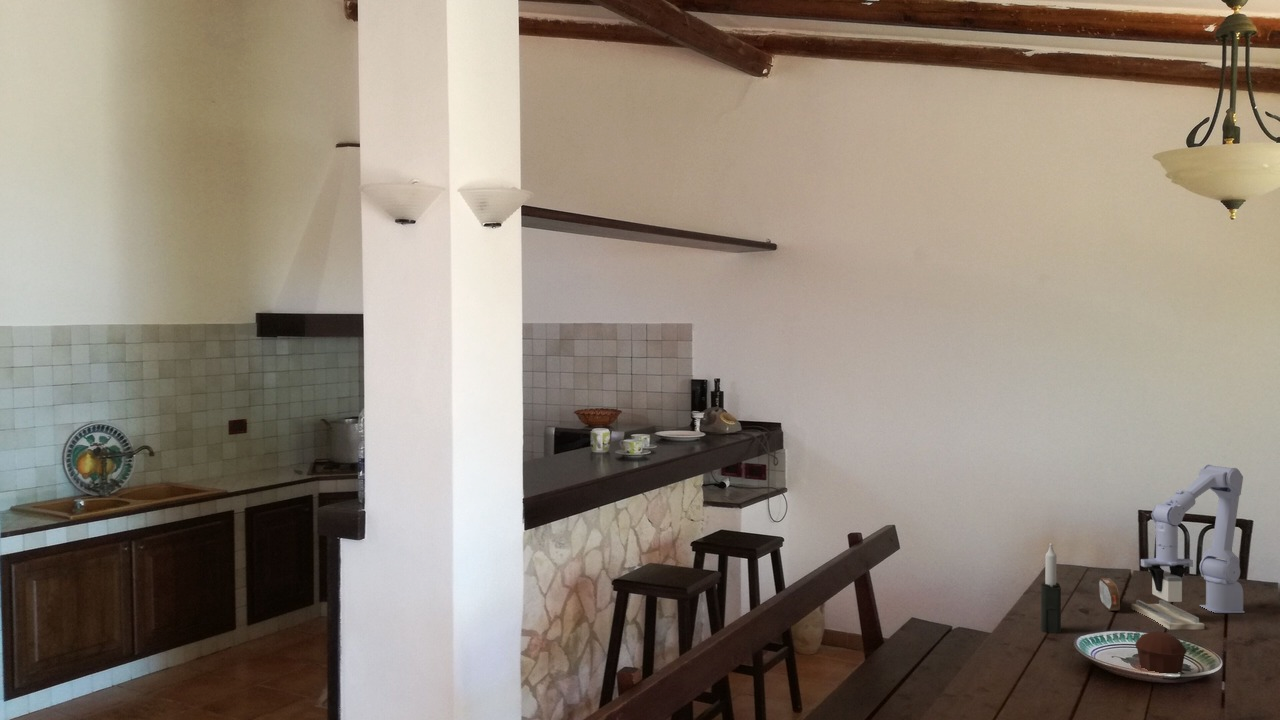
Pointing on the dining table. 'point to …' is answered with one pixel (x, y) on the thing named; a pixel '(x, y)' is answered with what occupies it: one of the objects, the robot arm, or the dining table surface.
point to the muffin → (1160, 652)
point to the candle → (1050, 596)
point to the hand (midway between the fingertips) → (1166, 590)
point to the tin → (1109, 594)
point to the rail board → (1168, 615)
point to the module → (1169, 588)
